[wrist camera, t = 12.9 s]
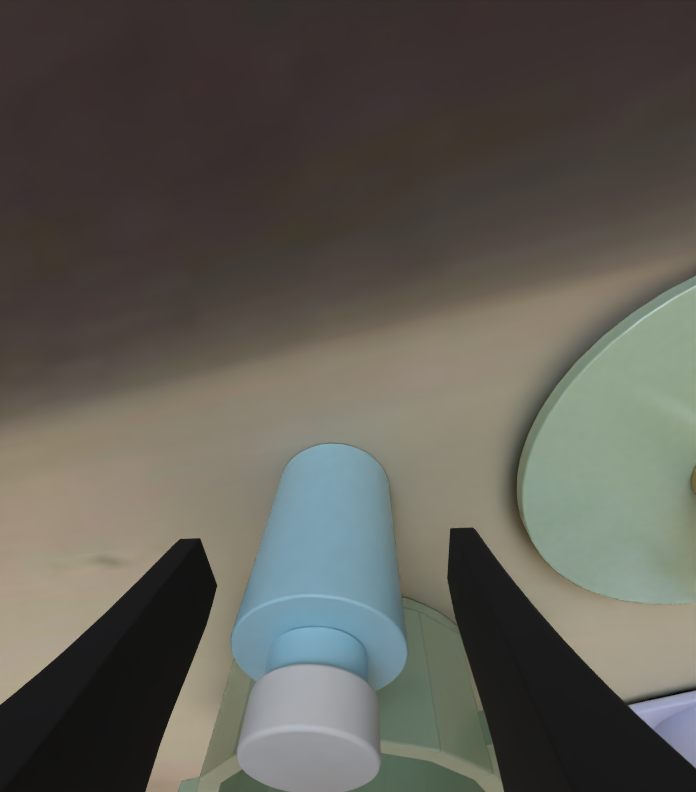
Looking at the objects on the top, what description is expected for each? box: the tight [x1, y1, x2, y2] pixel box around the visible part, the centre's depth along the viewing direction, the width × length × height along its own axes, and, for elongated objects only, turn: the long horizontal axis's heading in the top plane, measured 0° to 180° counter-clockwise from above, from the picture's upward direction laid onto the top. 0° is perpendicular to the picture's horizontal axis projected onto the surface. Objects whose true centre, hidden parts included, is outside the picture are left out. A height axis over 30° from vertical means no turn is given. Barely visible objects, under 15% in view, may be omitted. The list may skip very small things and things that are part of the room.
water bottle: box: [231, 444, 408, 792], centre depth 10 cm, size 4×4×7 cm
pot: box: [178, 597, 504, 792], centre depth 16 cm, size 12×17×5 cm
